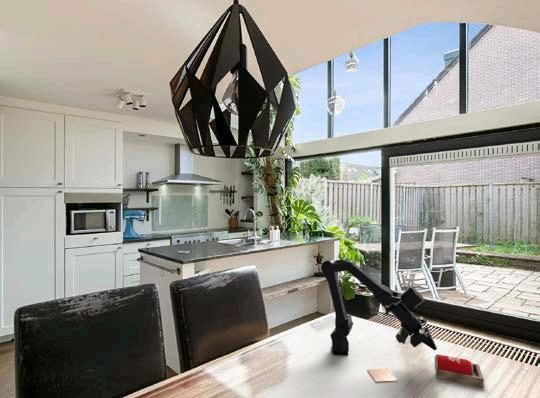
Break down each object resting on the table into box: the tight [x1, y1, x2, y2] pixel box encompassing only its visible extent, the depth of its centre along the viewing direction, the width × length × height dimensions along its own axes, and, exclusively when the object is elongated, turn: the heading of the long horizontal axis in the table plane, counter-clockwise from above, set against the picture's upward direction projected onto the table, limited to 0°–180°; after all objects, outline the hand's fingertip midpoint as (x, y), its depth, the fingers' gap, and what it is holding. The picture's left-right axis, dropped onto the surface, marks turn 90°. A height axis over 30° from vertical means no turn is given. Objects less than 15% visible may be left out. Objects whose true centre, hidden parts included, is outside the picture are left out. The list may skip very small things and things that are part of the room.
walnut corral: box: [435, 362, 485, 389], centre depth 120 cm, size 14×11×3 cm
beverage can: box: [434, 353, 473, 376], centre depth 120 cm, size 6×6×12 cm
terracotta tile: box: [367, 368, 398, 384], centre depth 120 cm, size 8×8×1 cm
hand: (435, 349), depth 123 cm, fingers closed
